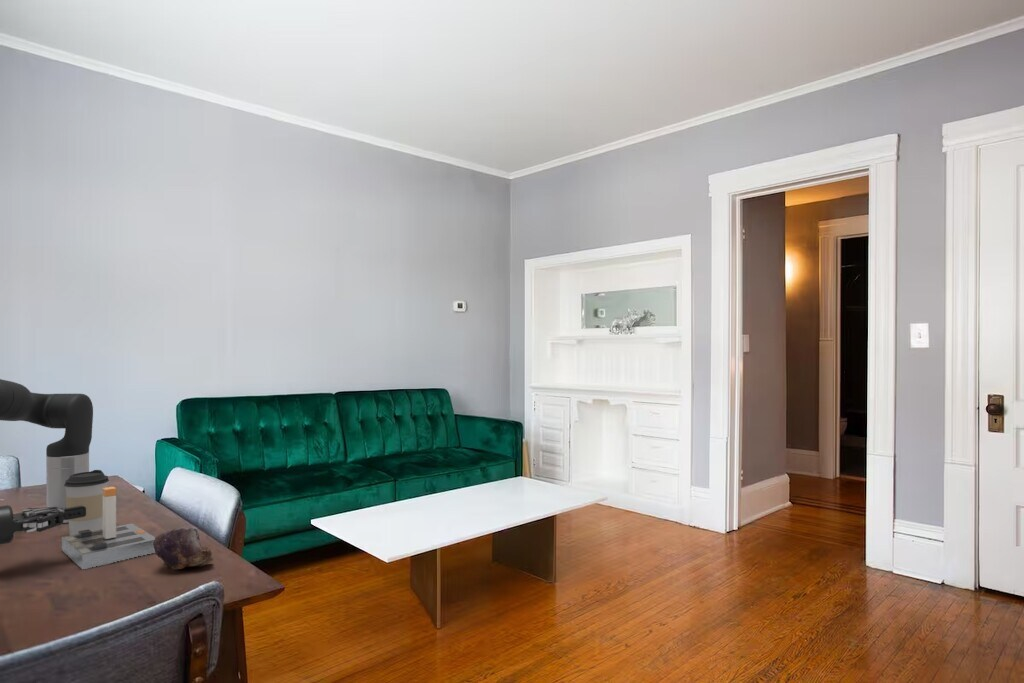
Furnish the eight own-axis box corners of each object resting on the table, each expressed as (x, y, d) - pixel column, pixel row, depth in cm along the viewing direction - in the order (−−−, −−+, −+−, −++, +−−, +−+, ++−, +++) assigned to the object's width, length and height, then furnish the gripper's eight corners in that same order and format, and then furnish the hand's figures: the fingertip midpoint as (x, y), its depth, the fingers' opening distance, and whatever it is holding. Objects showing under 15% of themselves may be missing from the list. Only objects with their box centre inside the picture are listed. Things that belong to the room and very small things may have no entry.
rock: (197, 560, 135) (146, 572, 128) (196, 520, 136) (145, 529, 129) (218, 565, 127) (165, 577, 120) (217, 522, 128) (163, 532, 121)
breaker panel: (61, 550, 139) (61, 532, 139) (132, 535, 149) (132, 519, 149) (82, 569, 126) (82, 550, 126) (157, 552, 137) (157, 534, 137)
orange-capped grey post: (102, 536, 138) (102, 488, 138) (113, 534, 139) (113, 486, 139) (105, 539, 136) (105, 489, 136) (116, 537, 138) (116, 488, 138)
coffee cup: (86, 540, 145) (86, 477, 145) (54, 538, 147) (54, 475, 147) (118, 529, 154) (117, 469, 154) (87, 527, 156) (87, 468, 156)
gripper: (-15, 516, 117) (93, 498, 130) (-24, 503, 126) (77, 488, 139) (-15, 555, 117) (93, 534, 130) (-24, 540, 126) (77, 522, 139)
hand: (85, 510), depth 134 cm, fingers closed
